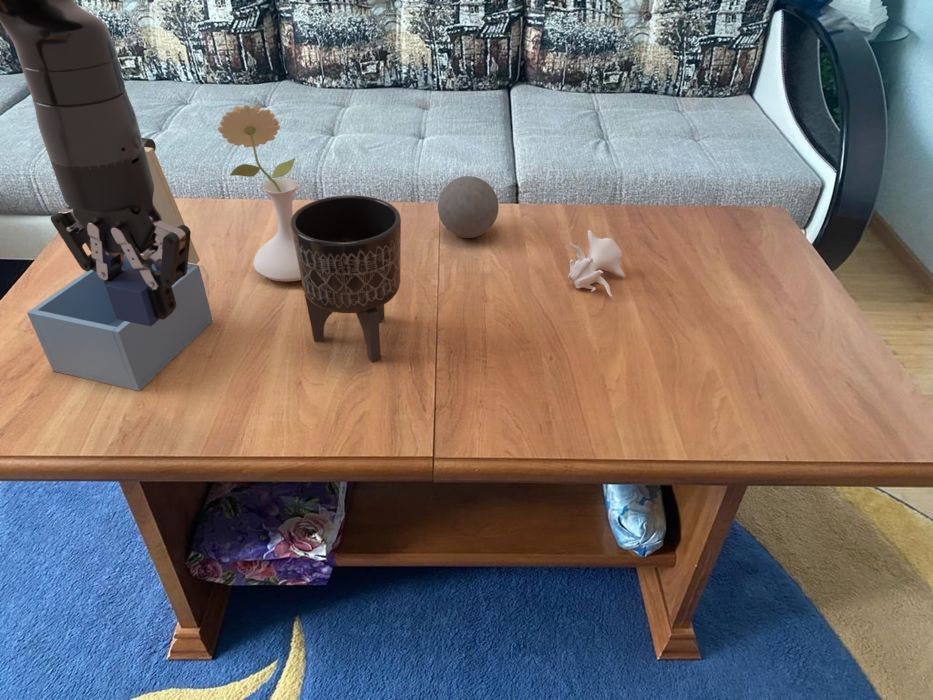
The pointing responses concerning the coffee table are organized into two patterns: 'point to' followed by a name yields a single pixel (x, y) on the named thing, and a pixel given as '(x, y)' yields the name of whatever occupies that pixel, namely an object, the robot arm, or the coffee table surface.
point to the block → (131, 298)
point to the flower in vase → (266, 189)
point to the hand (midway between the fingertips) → (145, 310)
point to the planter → (348, 261)
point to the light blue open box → (116, 331)
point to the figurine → (595, 263)
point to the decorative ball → (468, 207)
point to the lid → (165, 196)
